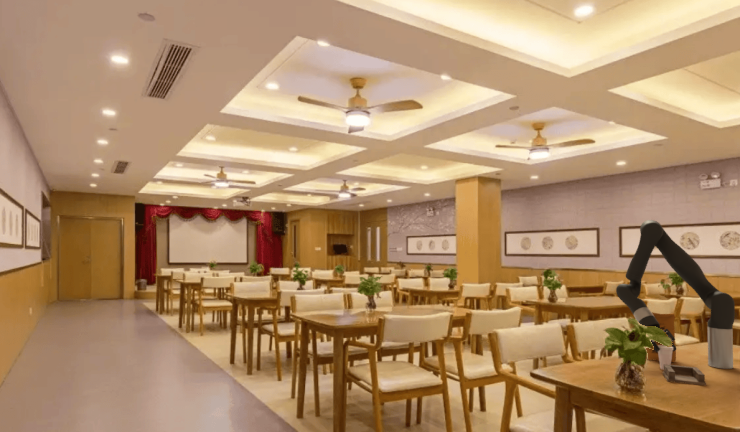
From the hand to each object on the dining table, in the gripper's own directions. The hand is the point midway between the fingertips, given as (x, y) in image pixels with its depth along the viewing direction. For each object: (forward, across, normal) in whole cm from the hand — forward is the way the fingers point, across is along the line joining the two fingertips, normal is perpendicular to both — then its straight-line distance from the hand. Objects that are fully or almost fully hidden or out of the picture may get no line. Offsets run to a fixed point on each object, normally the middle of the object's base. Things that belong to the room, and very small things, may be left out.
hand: (666, 350), depth 219 cm
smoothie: (+5, 0, +6) cm, 8 cm away
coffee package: (-5, +12, +17) cm, 21 cm away
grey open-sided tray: (+16, -6, -5) cm, 18 cm away
